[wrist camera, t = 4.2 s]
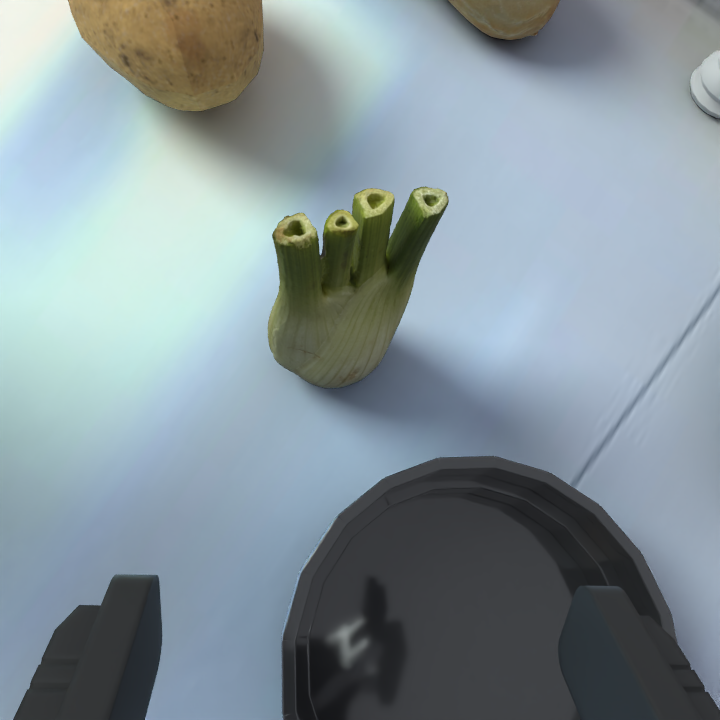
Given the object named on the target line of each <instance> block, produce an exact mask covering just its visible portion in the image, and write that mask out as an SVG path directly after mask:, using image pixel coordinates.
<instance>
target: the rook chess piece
mask: <svg viewBox="0 0 720 720" xmlns="http://www.w3.org/2000/svg"><path fill="white" fill-rule="evenodd" d="M690 89H691V94H692V98H693V99H694V101H695V102H696V104H697V105H698V106H699V107H700V108H701V109H702V110H703V111H704V112H706V113H707V114H709V115H711V116H714V117H716V118H719V119H720V50H719V51H715V52H714V53H712V54H711V55H710V56H709V57H707V58H706V59H705V60H704V61H703V63H702V65H700V66H699V67H698V68H697V69H695V70H694V71H693V73H692V77H691V80H690Z"/></svg>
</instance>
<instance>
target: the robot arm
mask: <svg viewBox="0 0 720 720" xmlns="http://www.w3.org/2000/svg"><path fill="white" fill-rule="evenodd" d="M161 646H162V622H161V604H160V587H159V578H158V576H157V575H114V577H113V578H112V580H111V582H110V584H109V587H108V589H107V592H106V594H105V597H104V599H103V602H102V604H101V606H98V605H79V606H78V607H77V608H76V609H75V610H74V611H73V612H72V613H71V614H70V615H69V616H68V617H67V618H66V619H65V620H64V621H63V622H62V623H61V624H60V625H59V626H58V627H57V628H56V629H55V631H54V633H53V635H52V638H51V640H50V642H49V644H48V646H47V648H46V650H45V653H44V655H43V657H42V661H41V664H40V665H39V666H38V668H37V670H36V672H35V674H34V676H33V678H32V681H31V683H30V688H29V689H27V691H26V693H25V696H24V698H23V700H22V702H21V704H20V706H19V708H18V711H17V713H16V715H15V717H14V719H13V720H145V717H146V713H147V709H148V705H149V701H150V697H151V694H152V690H153V686H154V682H155V678H156V675H157V671H158V666H159V661H160V655H161ZM558 657H559V664H560V668H561V672H562V674H563V677H564V679H565V682H566V684H567V687H568V689H569V691H570V694H571V696H572V699H573V701H574V703H575V706H576V708H577V711H578V713H579V716H580V718H581V720H720V710H719V709H718V707H717V706H716V704H715V702H714V701H713V699H712V698H711V696H710V695H709V693H708V692H705V690H704V685H703V684H702V682H701V681H700V679H699V677H698V676H697V674H696V673H695V671H694V670H691V668H690V663H689V662H688V660H687V659H686V657H685V655H684V654H683V652H682V651H681V649H680V648H679V646H678V644H677V643H676V641H675V640H674V638H673V637H672V636H670V635H669V634H668V633H667V632H666V631H665V630H664V629H663V628H662V627H661V626H660V625H659V624H658V623H656V622H655V621H654V620H653V619H652V618H651V617H650V616H643V615H639V614H638V612H637V610H636V609H635V607H634V605H633V604H632V602H631V600H630V599H629V597H628V595H627V594H626V592H625V591H624V590H623V589H622V588H620V587H618V586H579V587H578V588H577V589H576V591H575V594H574V597H573V600H572V602H571V605H570V608H569V611H568V614H567V617H566V620H565V623H564V626H563V629H562V632H561V635H560V638H559V643H558Z"/></svg>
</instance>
